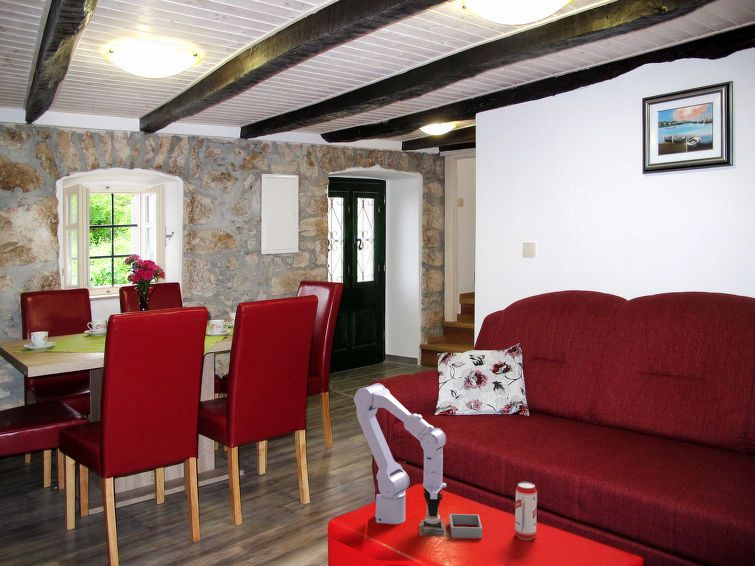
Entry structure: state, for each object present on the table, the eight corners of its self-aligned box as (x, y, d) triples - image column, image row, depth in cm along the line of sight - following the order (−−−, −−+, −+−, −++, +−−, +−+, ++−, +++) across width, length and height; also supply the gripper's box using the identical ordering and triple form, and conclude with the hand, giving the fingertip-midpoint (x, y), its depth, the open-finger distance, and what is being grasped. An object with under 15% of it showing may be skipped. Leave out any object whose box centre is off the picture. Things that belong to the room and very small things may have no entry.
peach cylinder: (439, 524, 202) (440, 498, 201) (425, 523, 202) (425, 497, 202) (439, 518, 206) (439, 492, 206) (425, 517, 206) (425, 492, 206)
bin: (451, 540, 199) (451, 527, 199) (449, 526, 209) (449, 513, 209) (482, 541, 199) (482, 528, 198) (478, 527, 209) (478, 514, 208)
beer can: (534, 532, 205) (535, 481, 204) (537, 541, 199) (538, 489, 198) (513, 531, 206) (514, 480, 204) (516, 540, 199) (517, 488, 198)
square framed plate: (419, 538, 201) (419, 530, 200) (419, 526, 209) (419, 519, 208) (446, 539, 200) (446, 530, 200) (444, 527, 208) (445, 519, 208)
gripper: (447, 478, 196) (447, 523, 197) (445, 462, 210) (444, 504, 211) (423, 477, 196) (423, 522, 197) (422, 461, 211) (422, 503, 211)
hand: (432, 513), depth 204 cm, fingers closed on peach cylinder, 4 cm apart
